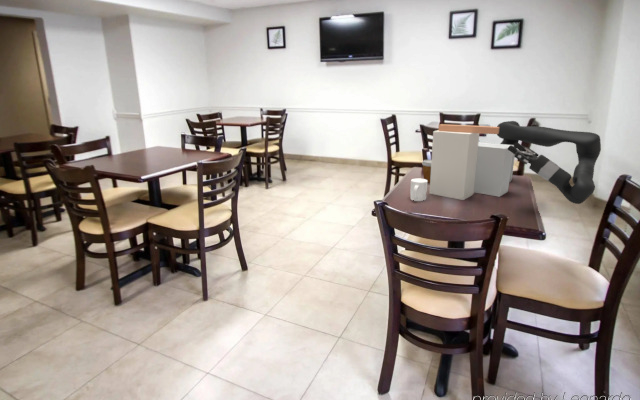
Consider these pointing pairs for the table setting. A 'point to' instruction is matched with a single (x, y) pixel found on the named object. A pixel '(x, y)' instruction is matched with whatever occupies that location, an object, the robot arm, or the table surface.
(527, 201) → the table surface
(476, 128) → the terracotta bar
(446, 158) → the stepped stand
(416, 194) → the mug
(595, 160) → the robot arm
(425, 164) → the disposable coffee cup
